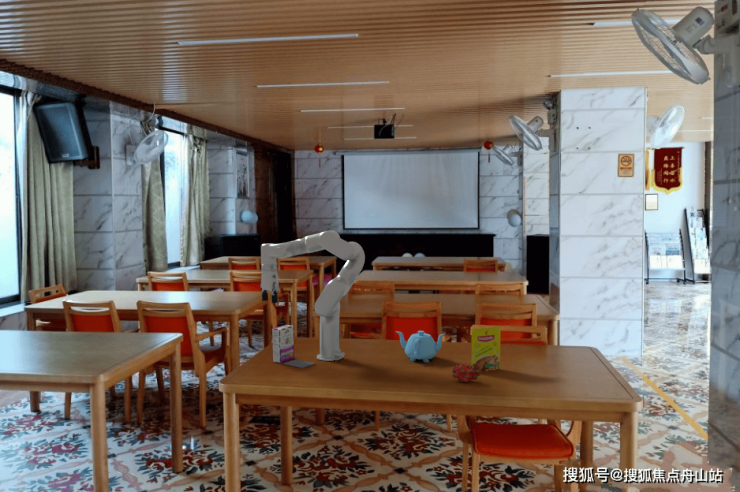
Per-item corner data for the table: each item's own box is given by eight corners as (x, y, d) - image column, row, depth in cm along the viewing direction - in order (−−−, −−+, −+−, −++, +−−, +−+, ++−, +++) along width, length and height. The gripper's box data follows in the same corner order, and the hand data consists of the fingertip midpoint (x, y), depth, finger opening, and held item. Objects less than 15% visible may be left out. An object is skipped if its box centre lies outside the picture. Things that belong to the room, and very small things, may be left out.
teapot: (445, 361, 288) (445, 332, 287) (409, 365, 281) (409, 336, 280) (430, 354, 303) (430, 326, 302) (395, 357, 296) (395, 329, 295)
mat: (314, 363, 283) (314, 363, 283) (302, 367, 276) (302, 367, 276) (295, 360, 290) (295, 359, 290) (283, 364, 283) (283, 363, 283)
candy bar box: (286, 357, 296) (286, 324, 295) (294, 358, 294) (294, 325, 293) (272, 362, 286) (271, 328, 285) (280, 363, 284) (280, 329, 283)
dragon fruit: (450, 383, 257) (477, 390, 253) (448, 376, 250) (476, 383, 246) (454, 365, 261) (481, 371, 257) (453, 357, 254) (481, 364, 250)
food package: (471, 372, 268) (472, 329, 267) (470, 372, 269) (471, 328, 268) (500, 369, 274) (501, 326, 272) (499, 368, 275) (499, 326, 273)
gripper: (284, 268, 294) (285, 302, 295) (267, 266, 307) (267, 299, 308) (271, 269, 289) (271, 304, 290) (254, 267, 302) (254, 300, 303)
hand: (269, 301), depth 299 cm, fingers open, 9 cm apart
